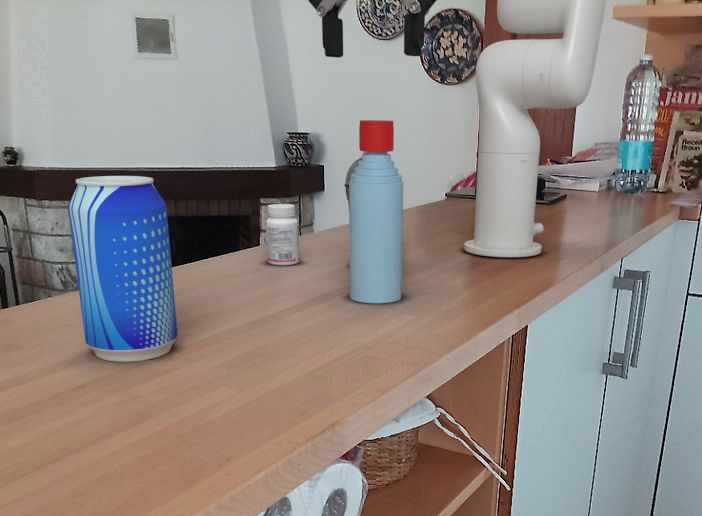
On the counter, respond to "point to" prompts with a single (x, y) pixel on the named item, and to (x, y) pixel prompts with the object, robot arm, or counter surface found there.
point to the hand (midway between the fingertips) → (372, 56)
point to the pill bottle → (282, 235)
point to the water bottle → (375, 229)
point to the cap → (376, 136)
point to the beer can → (123, 267)
